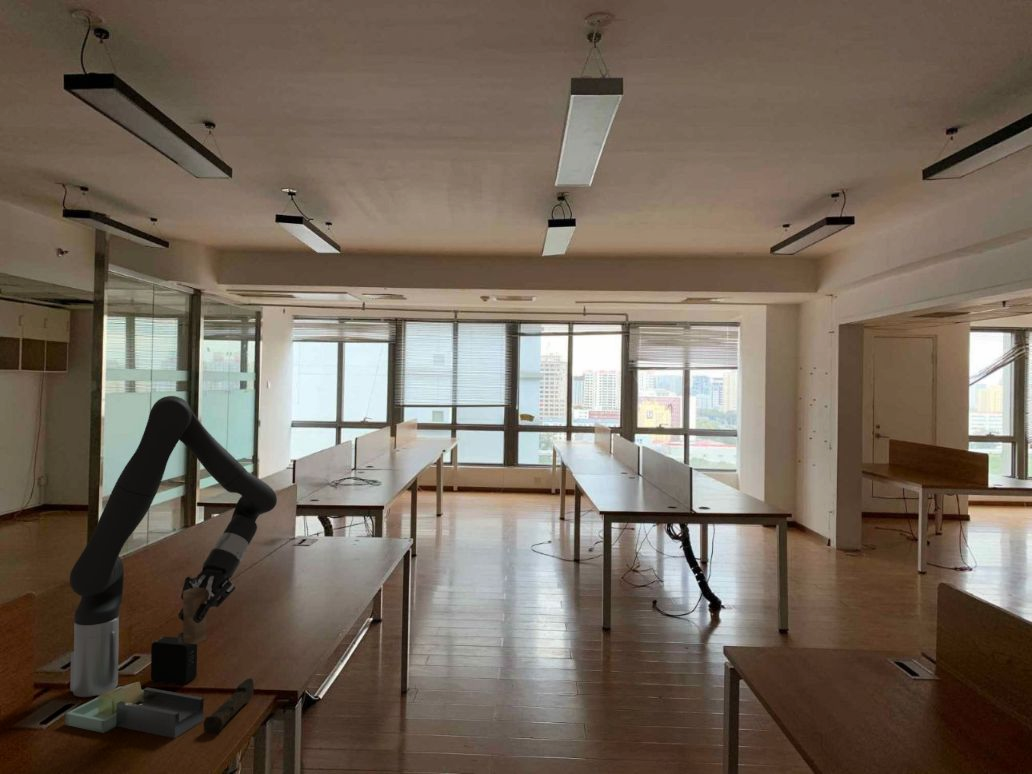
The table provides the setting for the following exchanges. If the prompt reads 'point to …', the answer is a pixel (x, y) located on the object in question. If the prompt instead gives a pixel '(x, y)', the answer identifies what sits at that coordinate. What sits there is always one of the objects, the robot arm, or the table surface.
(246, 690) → the hand tool
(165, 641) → the electronic device
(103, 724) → the tray
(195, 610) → the tan wooden block
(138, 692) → the pale yellow cube
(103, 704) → the tan cube
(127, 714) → the slot rail
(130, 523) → the robot arm
